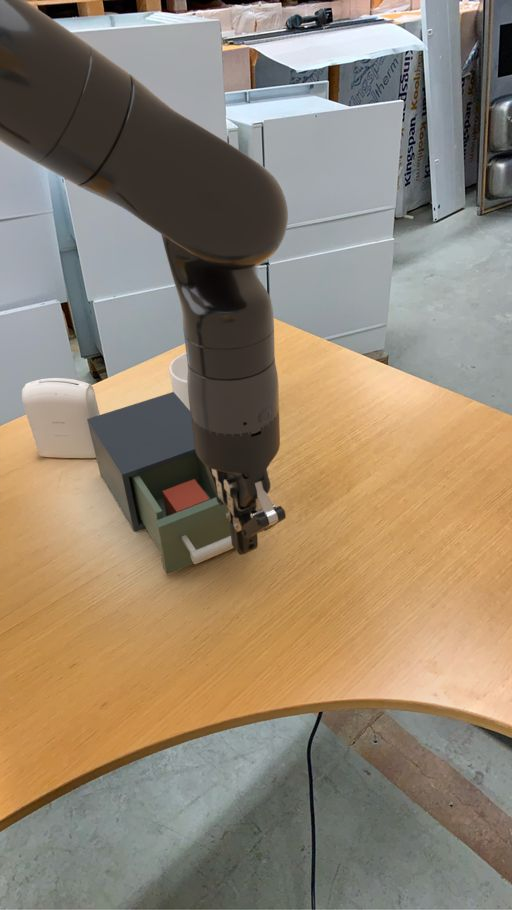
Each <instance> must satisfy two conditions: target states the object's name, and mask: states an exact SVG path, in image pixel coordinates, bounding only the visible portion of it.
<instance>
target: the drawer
mask: <svg viewBox="0 0 512 910" xmlns="http://www.w3.org/2000/svg"><path fill="white" fill-rule="evenodd" d="M193 479H195V480H196V482H197V483H198V484H199V485H200V487H201V488H202V489H203V491H204V492H205V493H206V495H207V496H208V497H209V499H210V500H208V501H205V502H203V503H200V504H198V505H195V506H192V507H190V508H187V509H185V510H182V511H180V512H177V513H174V514H172V515H169V516H167V517H166V511H165V505H164V499H163V493H162V491H164V490H166V489H169V488H172V487H174V486H177V485H180V484H182V483H185V482H188V481H190V480H193ZM129 480H130V485H131V490H132V495H133V499H134V504H135V509H136V512H137V514H138V516H139V517H140V519H141V520H142V522H143V524H144V525H145V529H146V530H147V532H148V534H149V536H150V537H151V539H152V541H153V542H154V543H155V545H156V547H157V548H158V550H159V553H160V558H161V563H162V569H163V571H164V572H165V574H166V575H170V574H173V573H175V572H177V571H179V570H182V569H185V568H187V567H189V566H192V565H193V564H194V565H197V564H199V563H202V562H204V561H207V560H209V559H212V558H214V557H216V556H218V555H221V554H223V553H225V552H228V551H230V550H233V549H235V548H234V547H233V546H232V542H231V531H230V521H229V520H228V519H227V518H226V516H225V509H224V505H222V506H221V505H219V503H218V502H217V499H216V495H215V493H214V490H213V487H212V484H211V481H210V479H209V476H208V473H207V470H206V467H205V465H204V463H203V462H202V461H201V460H200V459H199V458H198V456H197V454H196V453H195V454H193V455H190V456H187V457H184V458H181V459H179V460H176V461H173V462H170V463H167V464H165V465H162V466H159V467H156V468H153V469H151V470H148V471H145V472H142V473H140V474H137V475H134V476H131V477H129Z"/></svg>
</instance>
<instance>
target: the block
mask: <svg viewBox="0 0 512 910" xmlns="http://www.w3.org/2000/svg"><path fill="white" fill-rule="evenodd" d="M162 493H163V499H164V505H165V511H166V517H167V516H169V515H172V514H174V513H177V512H180V511H182V510H185V509H187V508H190V507H192V506H195V505H198V504H200V503H203V502H205V501H208V500H210V499H209V497H208V496H207V495H206V493H205V492H204V491H203V489H202V488H201V487H200V485H199V484H198V483H197V482H196V480H195V479H193V480H190V481H188V482H185V483H182V484H180V485H177V486H174V487H172V488H169V489H166V490H164V491H162Z"/></svg>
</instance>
